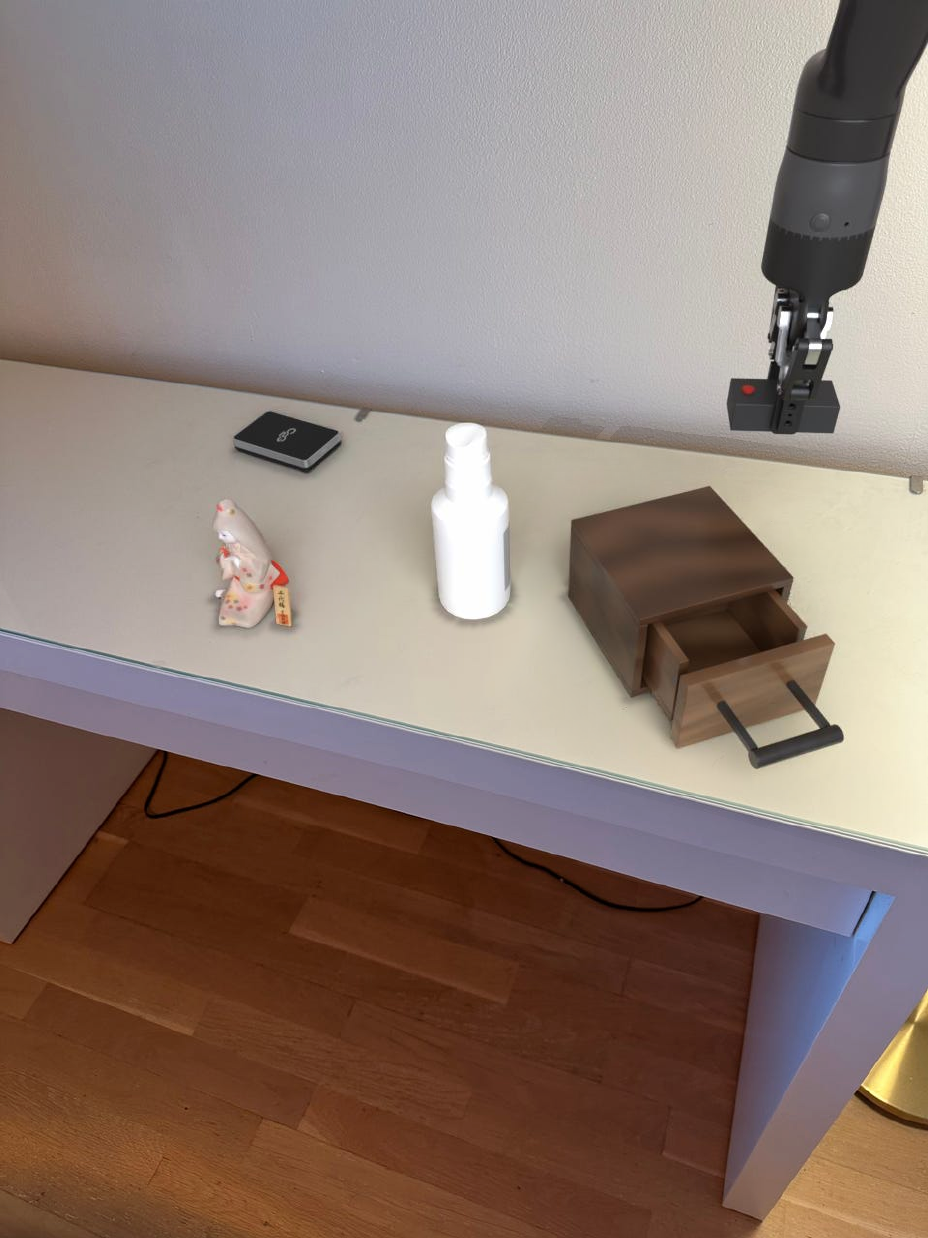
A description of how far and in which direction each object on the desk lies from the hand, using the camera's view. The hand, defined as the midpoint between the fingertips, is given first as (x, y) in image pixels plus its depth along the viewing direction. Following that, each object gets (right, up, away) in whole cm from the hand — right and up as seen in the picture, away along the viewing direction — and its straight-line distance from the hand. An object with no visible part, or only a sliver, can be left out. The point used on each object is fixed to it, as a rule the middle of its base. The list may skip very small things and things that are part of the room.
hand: (779, 415), depth 80 cm
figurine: (-47, -17, +9) cm, 51 cm away
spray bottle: (-26, -16, +8) cm, 32 cm away
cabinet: (-9, -18, +4) cm, 21 cm away
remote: (0, 0, 0) cm, 0 cm away
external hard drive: (-48, +2, +28) cm, 55 cm away
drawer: (-6, -24, -4) cm, 25 cm away
